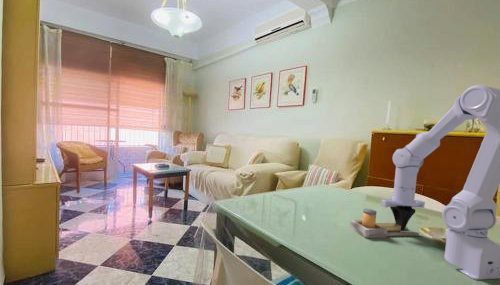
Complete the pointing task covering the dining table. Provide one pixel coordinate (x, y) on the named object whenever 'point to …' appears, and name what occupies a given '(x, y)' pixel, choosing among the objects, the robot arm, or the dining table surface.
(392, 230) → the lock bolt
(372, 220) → the cylinder
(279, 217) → the dining table surface
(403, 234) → the mount
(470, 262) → the robot arm
